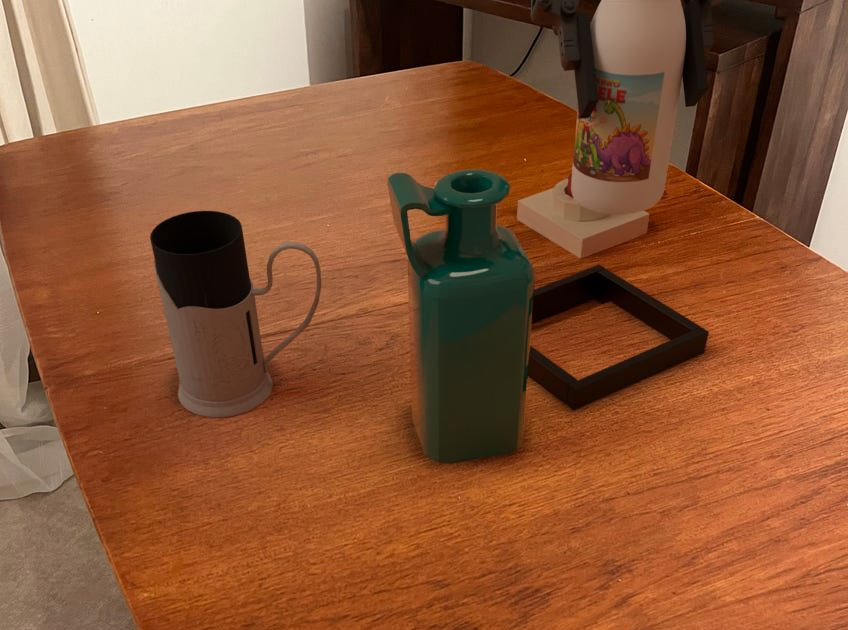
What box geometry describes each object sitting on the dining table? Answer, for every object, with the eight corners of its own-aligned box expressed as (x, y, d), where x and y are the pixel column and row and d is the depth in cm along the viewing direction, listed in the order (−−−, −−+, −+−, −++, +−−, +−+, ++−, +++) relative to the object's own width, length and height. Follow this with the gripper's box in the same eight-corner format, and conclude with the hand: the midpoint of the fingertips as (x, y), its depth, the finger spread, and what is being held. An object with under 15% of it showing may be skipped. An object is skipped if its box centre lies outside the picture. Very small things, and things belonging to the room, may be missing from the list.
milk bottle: (608, 167, 89) (640, -109, 74) (682, 193, 85) (731, -93, 70) (551, 198, 86) (572, -84, 71) (624, 226, 82) (664, -66, 67)
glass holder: (186, 363, 97) (152, 208, 85) (334, 359, 96) (320, 202, 85) (170, 418, 91) (132, 260, 80) (328, 414, 90) (312, 254, 79)
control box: (646, 233, 108) (652, 196, 105) (580, 259, 106) (584, 221, 103) (580, 196, 115) (584, 160, 112) (516, 219, 112) (518, 183, 109)
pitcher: (502, 400, 90) (515, 145, 73) (528, 459, 84) (548, 197, 68) (393, 417, 89) (382, 163, 73) (412, 477, 83) (405, 216, 67)
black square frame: (703, 360, 92) (709, 331, 90) (572, 418, 88) (576, 389, 85) (595, 292, 101) (598, 263, 99) (472, 341, 96) (472, 313, 94)
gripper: (481, -235, 72) (519, 94, 73) (765, -263, 72) (797, 64, 74) (466, -157, 79) (501, 140, 80) (724, -183, 80) (754, 112, 81)
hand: (642, 103), depth 77 cm, fingers closed on milk bottle, 8 cm apart
